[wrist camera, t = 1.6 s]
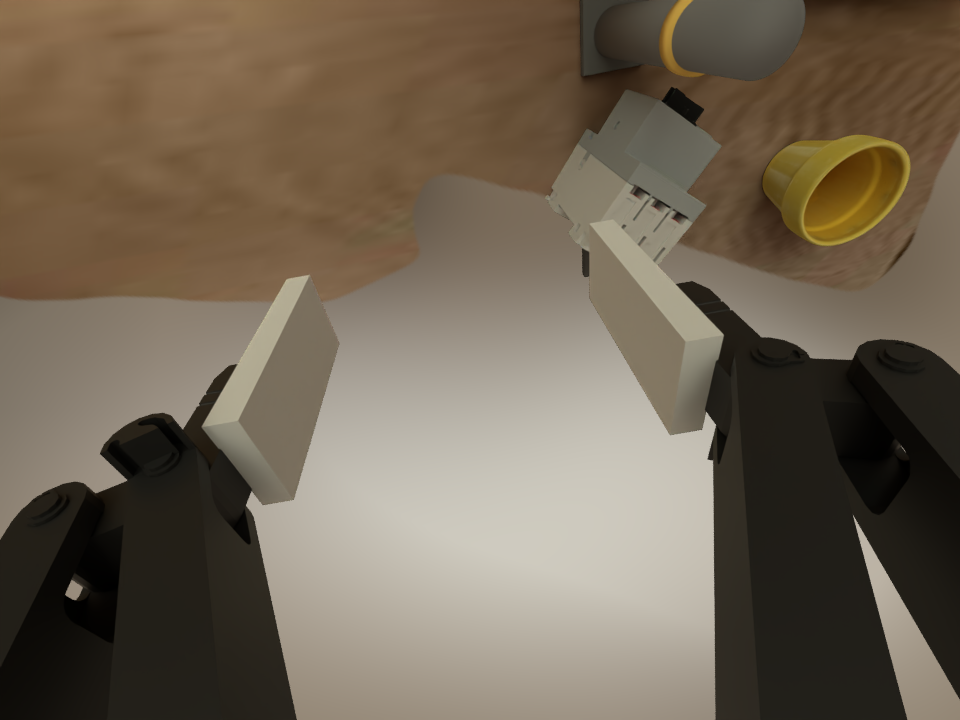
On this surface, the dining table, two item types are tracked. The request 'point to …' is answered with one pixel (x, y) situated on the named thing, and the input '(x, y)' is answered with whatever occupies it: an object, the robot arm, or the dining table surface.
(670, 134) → the circuit breaker
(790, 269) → the dining table surface
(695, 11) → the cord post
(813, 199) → the plant pot
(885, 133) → the dining table surface
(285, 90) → the dining table surface
